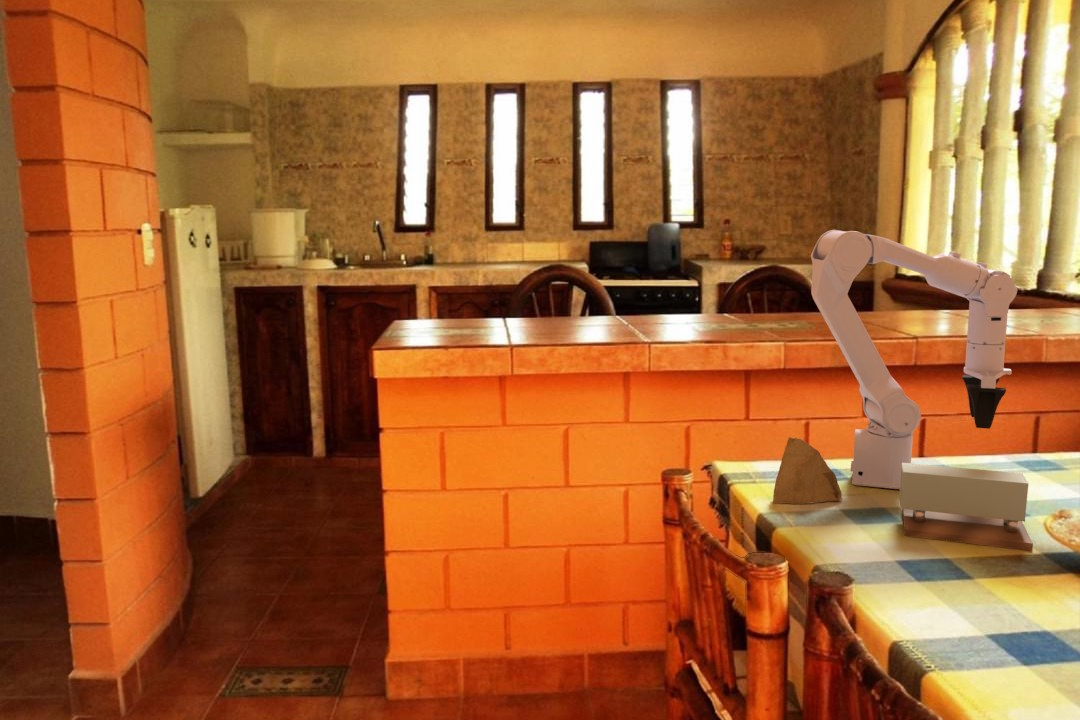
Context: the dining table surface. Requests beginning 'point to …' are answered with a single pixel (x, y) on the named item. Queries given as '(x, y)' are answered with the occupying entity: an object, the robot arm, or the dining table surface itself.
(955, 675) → the dining table surface
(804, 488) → the rock
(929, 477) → the off-white rectangular block
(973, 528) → the peg rack
